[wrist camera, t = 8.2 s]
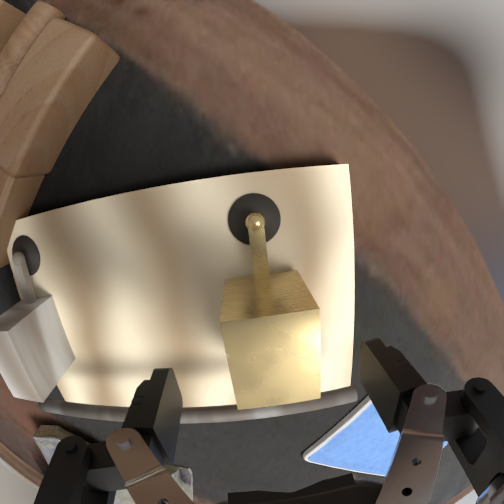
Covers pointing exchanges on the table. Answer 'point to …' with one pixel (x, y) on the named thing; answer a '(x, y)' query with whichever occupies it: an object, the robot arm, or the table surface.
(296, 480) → the table surface
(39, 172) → the wooden block set
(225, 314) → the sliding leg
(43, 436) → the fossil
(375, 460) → the tablet computer
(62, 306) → the cream panel
